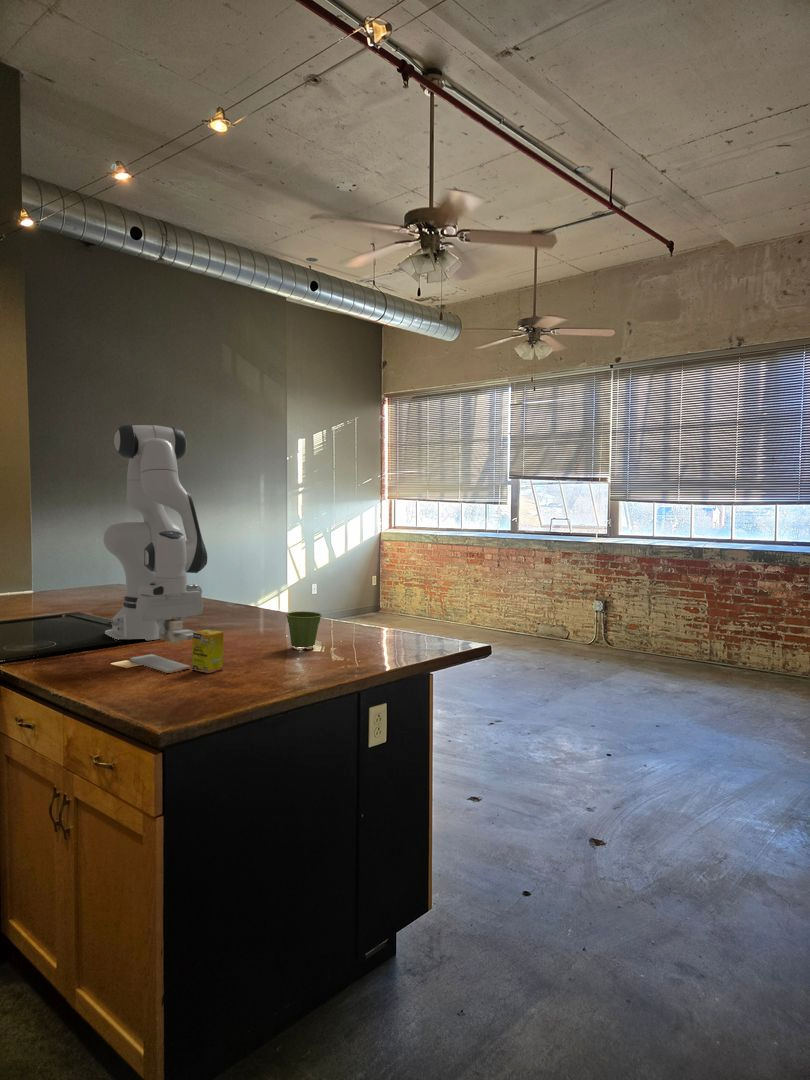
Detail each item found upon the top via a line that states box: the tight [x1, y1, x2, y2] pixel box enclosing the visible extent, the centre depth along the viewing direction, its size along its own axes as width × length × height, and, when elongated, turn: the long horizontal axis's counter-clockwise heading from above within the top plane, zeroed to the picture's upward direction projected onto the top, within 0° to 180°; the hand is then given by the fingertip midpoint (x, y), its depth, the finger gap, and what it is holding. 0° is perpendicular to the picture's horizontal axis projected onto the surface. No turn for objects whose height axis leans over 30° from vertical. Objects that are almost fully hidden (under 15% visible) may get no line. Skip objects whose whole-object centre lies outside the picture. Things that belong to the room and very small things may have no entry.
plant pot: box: [284, 611, 323, 647], centre depth 223 cm, size 12×12×11 cm
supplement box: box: [192, 629, 225, 671], centre depth 192 cm, size 6×6×11 cm
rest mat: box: [129, 653, 191, 673], centre depth 196 cm, size 20×7×1 cm, turn 50°
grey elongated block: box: [158, 618, 197, 644], centre depth 201 cm, size 17×5×6 cm, turn 50°
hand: (170, 633), depth 204 cm, fingers closed on grey elongated block, 3 cm apart
